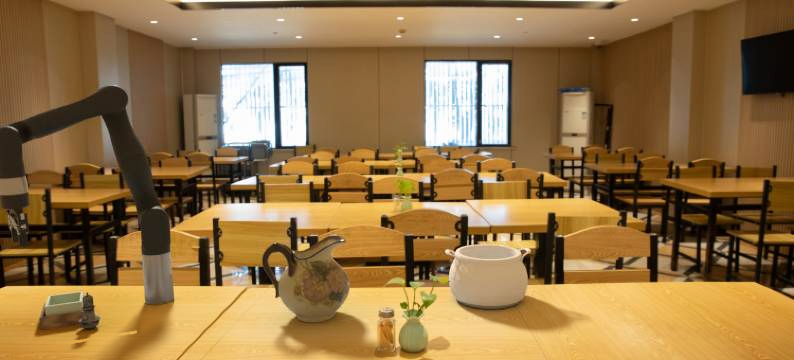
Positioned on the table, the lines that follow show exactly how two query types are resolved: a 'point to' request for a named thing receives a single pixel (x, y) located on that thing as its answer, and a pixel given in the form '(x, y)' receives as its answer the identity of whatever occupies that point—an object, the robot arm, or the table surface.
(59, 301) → the green crate
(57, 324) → the box
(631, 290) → the table surface
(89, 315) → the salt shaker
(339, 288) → the pitcher
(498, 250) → the pot
